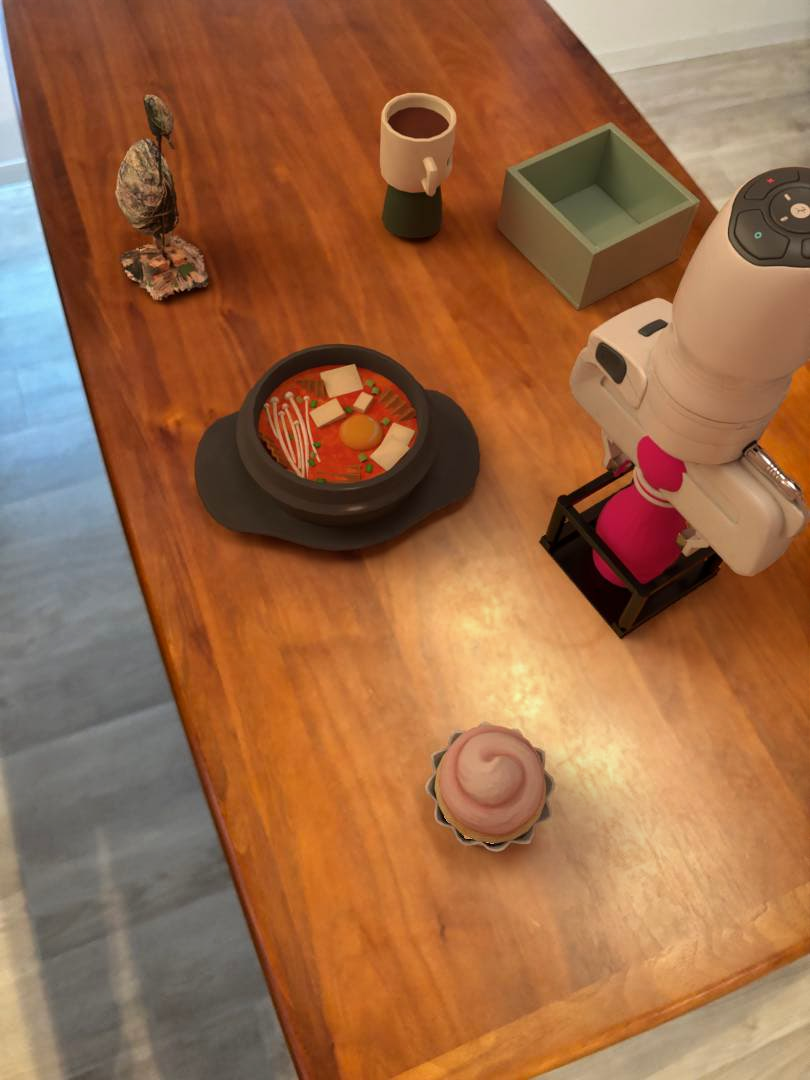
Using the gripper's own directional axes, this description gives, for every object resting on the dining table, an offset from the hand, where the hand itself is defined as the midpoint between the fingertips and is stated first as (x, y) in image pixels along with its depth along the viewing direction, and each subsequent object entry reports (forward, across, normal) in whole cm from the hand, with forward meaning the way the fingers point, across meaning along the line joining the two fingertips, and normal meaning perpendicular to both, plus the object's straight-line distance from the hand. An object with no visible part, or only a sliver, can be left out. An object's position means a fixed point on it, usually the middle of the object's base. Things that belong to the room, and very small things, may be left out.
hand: (650, 506), depth 79 cm
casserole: (+9, +21, +16) cm, 28 cm away
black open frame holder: (+9, 0, 0) cm, 9 cm away
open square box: (+8, +31, -21) cm, 39 cm away
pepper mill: (+9, 0, 0) cm, 9 cm away
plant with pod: (+9, +51, +17) cm, 55 cm away
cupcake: (+9, -10, +22) cm, 26 cm away
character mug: (+9, +43, -7) cm, 44 cm away
